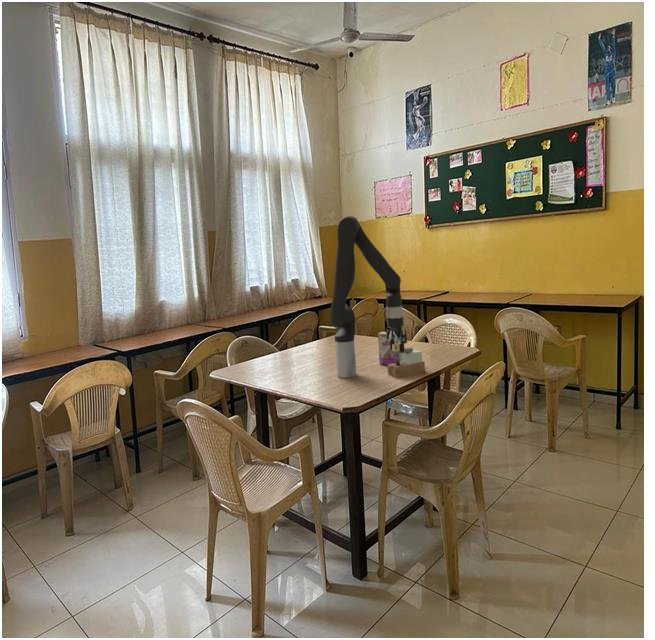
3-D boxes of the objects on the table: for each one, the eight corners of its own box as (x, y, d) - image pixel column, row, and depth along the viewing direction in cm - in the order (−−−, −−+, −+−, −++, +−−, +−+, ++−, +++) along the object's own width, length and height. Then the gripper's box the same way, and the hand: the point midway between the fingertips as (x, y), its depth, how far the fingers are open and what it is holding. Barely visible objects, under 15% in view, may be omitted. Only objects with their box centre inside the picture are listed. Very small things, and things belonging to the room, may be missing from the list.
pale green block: (402, 362, 241) (402, 351, 240) (415, 359, 244) (414, 349, 243) (409, 364, 236) (409, 354, 235) (422, 362, 238) (421, 351, 237)
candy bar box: (379, 365, 259) (377, 333, 256) (383, 362, 263) (381, 331, 260) (399, 366, 252) (397, 334, 250) (403, 364, 256) (401, 332, 254)
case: (388, 374, 239) (387, 364, 238) (416, 369, 245) (416, 359, 245) (395, 378, 233) (395, 367, 232) (425, 372, 239) (424, 361, 238)
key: (391, 365, 236) (389, 344, 235) (411, 361, 241) (410, 341, 239) (393, 365, 234) (392, 345, 233) (413, 362, 239) (412, 341, 237)
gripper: (380, 315, 238) (382, 349, 240) (395, 318, 225) (398, 354, 227) (394, 313, 241) (396, 346, 243) (410, 316, 228) (412, 351, 230)
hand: (397, 350), depth 235 cm, fingers open, 8 cm apart
